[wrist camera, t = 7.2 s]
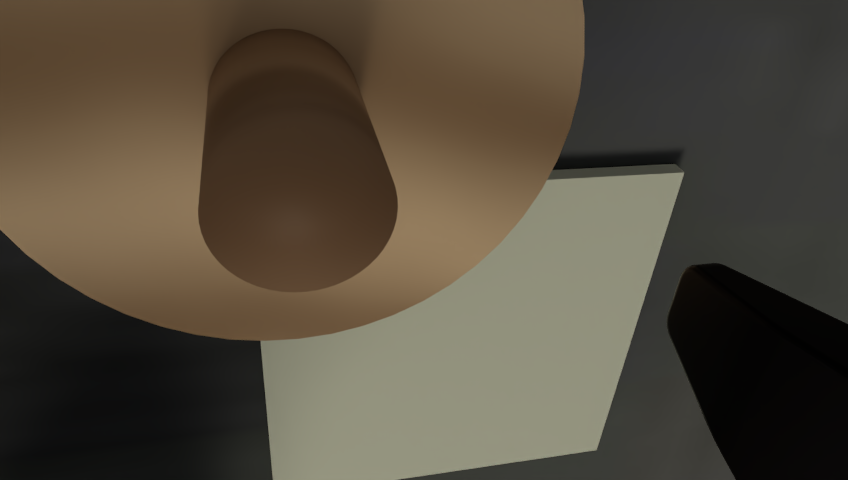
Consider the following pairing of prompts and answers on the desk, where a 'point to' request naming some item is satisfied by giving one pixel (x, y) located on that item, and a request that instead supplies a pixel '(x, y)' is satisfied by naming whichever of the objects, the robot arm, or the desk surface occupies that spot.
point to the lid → (277, 150)
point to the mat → (483, 346)
